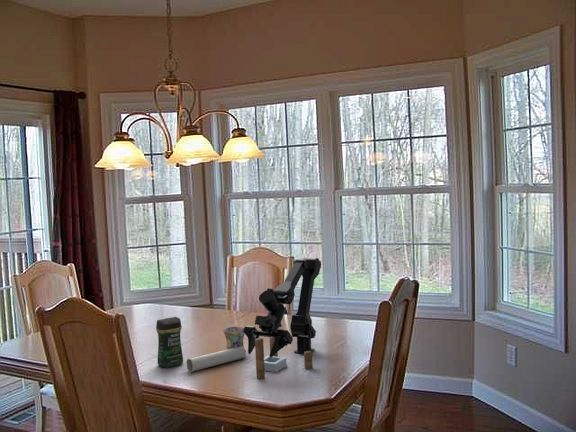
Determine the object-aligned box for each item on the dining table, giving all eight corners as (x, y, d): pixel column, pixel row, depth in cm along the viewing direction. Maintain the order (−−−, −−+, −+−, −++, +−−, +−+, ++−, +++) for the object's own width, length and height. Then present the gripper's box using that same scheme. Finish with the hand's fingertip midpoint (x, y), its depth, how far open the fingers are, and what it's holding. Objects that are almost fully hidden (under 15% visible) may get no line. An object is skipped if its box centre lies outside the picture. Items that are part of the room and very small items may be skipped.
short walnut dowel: (306, 366, 210) (306, 350, 209) (313, 367, 208) (313, 351, 208) (303, 368, 207) (302, 352, 207) (310, 369, 206) (309, 353, 205)
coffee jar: (163, 369, 212) (160, 322, 211) (155, 365, 219) (152, 318, 218) (186, 364, 218) (184, 317, 217) (177, 359, 224) (175, 314, 223)
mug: (250, 355, 226) (249, 329, 225) (230, 360, 221) (229, 333, 220) (237, 348, 236) (236, 323, 235) (217, 352, 231) (216, 327, 230)
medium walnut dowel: (273, 358, 221) (272, 336, 220) (279, 359, 219) (278, 336, 219) (269, 360, 218) (268, 338, 218) (275, 361, 217) (274, 338, 216)
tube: (240, 345, 226) (185, 359, 211) (246, 344, 222) (191, 357, 207) (242, 358, 225) (187, 373, 210) (249, 357, 221) (194, 372, 206)
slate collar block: (268, 362, 215) (268, 355, 215) (286, 365, 211) (286, 357, 211) (257, 369, 208) (257, 361, 208) (275, 372, 204) (275, 364, 204)
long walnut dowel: (259, 375, 201) (257, 337, 201) (266, 376, 200) (264, 338, 199) (254, 378, 199) (253, 340, 198) (262, 379, 197) (260, 340, 196)
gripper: (244, 304, 207) (228, 341, 198) (287, 308, 198) (272, 347, 189) (257, 320, 214) (241, 356, 205) (299, 324, 205) (285, 362, 196)
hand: (259, 355), depth 199 cm, fingers open, 9 cm apart
